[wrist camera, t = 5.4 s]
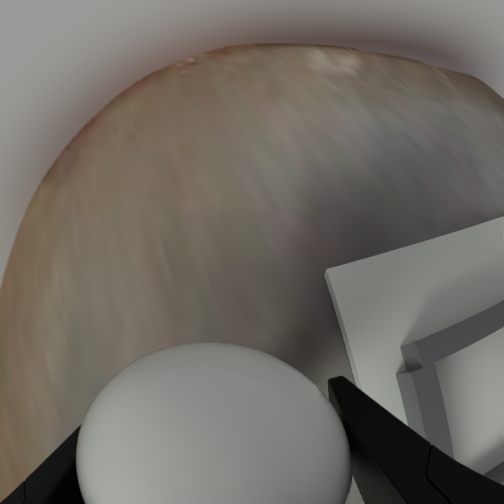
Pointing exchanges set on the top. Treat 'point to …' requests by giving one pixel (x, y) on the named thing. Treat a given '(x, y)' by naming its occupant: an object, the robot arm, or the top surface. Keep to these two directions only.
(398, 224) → the top surface
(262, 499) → the lightbulb
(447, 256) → the bulb holder
